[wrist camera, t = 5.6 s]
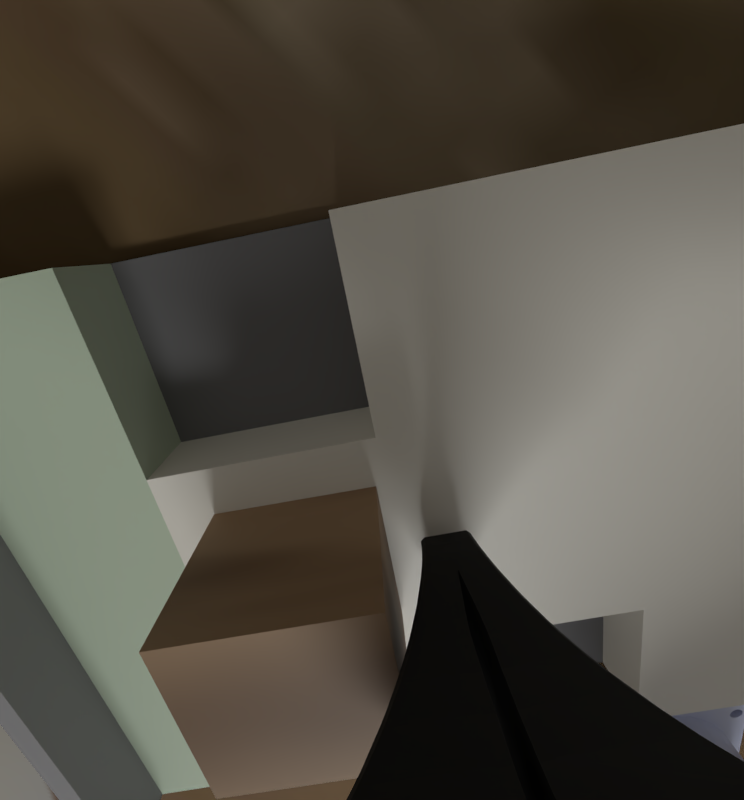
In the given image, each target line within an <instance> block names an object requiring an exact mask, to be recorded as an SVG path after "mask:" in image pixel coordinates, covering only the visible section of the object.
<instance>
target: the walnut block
mask: <svg viewBox="0 0 744 800" xmlns="http://www.w3.org/2000/svg"><path fill="white" fill-rule="evenodd" d="M405 653H406V641H405V633H404V624H403V616H402V609H401V604H400V599H399V594H398V589H397V584H396V580H395V575H394V570H393V565H392V560H391V555H390V551H389V546H388V541H387V536H386V531H385V526H384V521H383V517H382V512H381V507H380V502H379V497H378V492H377V488H376V486H375V487H369V488H363V489H357V490H352V491H346V492H340V493H334V494H329V495H323V496H317V497H311V498H305V499H300V500H294V501H288V502H282V503H277V504H271V505H265V506H259V507H253V508H248V509H242V510H236V511H230V512H224V513H219V514H214V515H213V517H212V519H211V521H210V523H209V525H208V526H207V528H206V530H205V532H204V534H203V536H202V537H201V539H200V541H199V543H198V545H197V547H196V548H195V550H194V552H193V554H192V556H191V558H190V559H189V561H188V563H187V565H186V567H185V569H184V570H183V572H182V574H181V576H180V578H179V580H178V581H177V583H176V585H175V587H174V589H173V591H172V592H171V594H170V596H169V598H168V600H167V602H166V603H165V605H164V607H163V609H162V611H161V613H160V614H159V616H158V618H157V620H156V622H155V624H154V625H153V627H152V629H151V631H150V633H149V635H148V636H147V638H146V640H145V642H144V644H143V646H142V647H141V649H140V651H139V654H140V656H141V658H142V659H143V661H144V663H145V665H146V667H147V669H148V671H149V673H150V675H151V676H152V678H153V680H154V682H155V684H156V686H157V688H158V690H159V692H160V693H161V695H162V697H163V699H164V701H165V703H166V705H167V707H168V709H169V710H170V712H171V714H172V716H173V718H174V720H175V722H176V724H177V726H178V727H179V729H180V731H181V733H182V735H183V737H184V739H185V741H186V743H187V744H188V746H189V748H190V750H191V752H192V754H193V756H194V758H195V760H196V761H197V763H198V765H199V767H200V769H201V771H202V773H203V775H204V777H205V778H206V780H207V782H208V784H209V786H210V788H211V790H212V792H213V794H214V796H215V797H216V799H219V798H226V797H233V796H239V795H246V794H253V793H260V792H267V791H273V790H280V789H287V788H294V787H300V786H307V785H314V784H321V783H328V782H334V781H341V780H348V779H355V778H358V776H359V774H360V772H361V769H362V767H363V765H364V762H365V760H366V758H367V756H368V753H369V751H370V749H371V746H372V744H373V742H374V739H375V737H376V735H377V732H378V730H379V728H380V725H381V723H382V720H383V718H384V715H385V713H386V710H387V707H388V705H389V702H390V699H391V696H392V693H393V691H394V688H395V685H396V682H397V679H398V676H399V673H400V670H401V666H402V663H403V660H404V656H405Z"/></svg>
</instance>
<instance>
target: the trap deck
mask: <svg viewBox="0 0 744 800" xmlns="http://www.w3.org/2000/svg"><path fill="white" fill-rule="evenodd" d="M328 211H329V216H330V218H328V219H323V220H319V221H314V222H309V223H304V224H299V225H295V226H290V227H285V228H280V229H275V230H270V231H266V232H261V233H256V234H251V235H246V236H242V237H237V238H232V239H227V240H222V241H218V242H213V243H208V244H203V245H198V246H193V247H189V248H184V249H179V250H174V251H169V252H165V253H160V254H155V255H150V256H145V257H141V258H136V259H131V260H126V261H121V262H116V263H112V264H99V265H85V266H71V267H57V268H49V269H44V270H39V271H34V272H30V273H25V274H20V275H15V276H10V277H6V278H1V279H0V724H1V726H2V727H3V729H4V730H5V731H6V732H7V734H8V735H9V736H10V737H11V739H12V740H13V741H14V743H15V744H16V745H17V746H18V748H19V749H20V750H21V752H22V753H23V754H24V755H25V757H26V758H27V759H28V761H29V762H30V763H31V764H32V766H33V767H34V768H35V769H36V771H37V772H38V773H39V775H40V776H41V777H42V778H43V780H44V781H45V782H46V784H47V785H48V786H49V787H50V789H51V790H52V791H53V793H54V794H55V795H56V796H57V798H58V799H59V800H160V799H161V796H162V794H166V793H172V792H179V791H185V790H192V789H198V788H205V787H210V786H209V784H208V782H207V780H206V778H205V777H204V775H203V773H202V771H201V769H200V767H199V765H198V763H197V761H196V760H195V758H194V756H193V754H192V752H191V750H190V748H189V746H188V744H187V743H186V741H185V739H184V737H183V735H182V733H181V731H180V729H179V727H178V726H177V724H176V722H175V720H174V718H173V716H172V714H171V712H170V710H169V709H168V707H167V705H166V703H165V701H164V699H163V697H162V695H161V693H160V692H159V690H158V688H157V686H156V684H155V682H154V680H153V678H152V676H151V675H150V673H149V671H148V669H147V667H146V665H145V663H144V661H143V659H142V658H141V656H140V654H139V651H140V649H141V647H142V646H143V644H144V642H145V640H146V638H147V636H148V635H149V633H150V631H151V629H152V627H153V625H154V624H155V622H156V620H157V618H158V616H159V614H160V613H161V611H162V609H163V607H164V605H165V603H166V602H167V600H168V598H169V596H170V594H171V592H172V591H173V589H174V587H175V585H176V583H177V581H178V580H179V578H180V576H181V574H182V572H183V570H184V569H185V567H186V565H187V563H188V561H189V559H190V558H191V556H192V554H193V552H194V550H195V548H196V547H197V545H198V543H199V541H200V539H201V537H202V536H203V534H204V532H205V530H206V528H207V526H208V525H209V523H210V521H211V519H212V517H213V515H214V514H219V513H224V512H230V511H236V510H242V509H248V508H253V507H259V506H265V505H271V504H277V503H282V502H288V501H294V500H300V499H305V498H311V497H317V496H323V495H329V494H334V493H340V492H346V491H352V490H357V489H363V488H369V487H375V486H376V488H377V492H378V497H379V502H380V507H381V512H382V517H383V521H384V526H385V531H386V536H387V541H388V546H389V551H390V555H391V560H392V565H393V570H394V575H395V580H396V584H397V589H398V594H399V599H400V604H401V609H402V616H403V624H404V633H405V641H406V649H407V646H408V642H409V638H410V634H411V629H412V625H413V620H414V616H415V611H416V606H417V601H418V594H419V587H420V580H421V569H422V546H421V541H422V540H423V538H424V537H429V536H435V535H441V534H447V533H453V532H458V531H464V530H467V531H468V532H470V533H471V534H472V536H473V537H474V539H475V540H476V542H477V543H478V545H479V546H480V547H481V548H482V550H483V551H484V552H485V554H486V555H487V556H488V557H489V559H490V560H491V561H492V562H493V563H494V565H495V566H496V567H497V568H498V569H499V570H500V572H501V573H502V574H503V575H504V576H505V577H506V578H507V579H508V580H509V581H510V582H511V584H512V585H513V586H514V587H515V588H516V589H517V590H518V591H519V592H520V593H521V594H522V595H523V596H524V597H525V598H526V599H527V600H528V601H529V602H530V603H531V604H532V605H533V606H534V607H535V608H536V609H537V610H538V611H539V612H540V613H541V614H542V615H543V616H544V617H545V618H546V619H547V620H548V621H549V622H550V623H552V624H553V625H554V626H555V627H556V628H557V629H558V630H559V631H560V632H561V633H563V634H564V635H565V636H566V637H567V638H568V639H570V640H571V641H572V642H573V643H574V644H575V645H577V646H578V647H579V648H580V649H581V650H583V651H584V652H585V653H586V654H588V655H589V656H590V657H591V658H593V659H594V660H595V661H596V662H598V663H600V662H603V663H604V665H605V667H606V668H607V670H608V671H609V672H610V673H612V674H613V675H614V676H616V677H617V678H619V679H620V680H621V681H623V682H624V683H626V684H627V685H628V686H630V687H631V688H632V689H634V690H635V691H637V692H638V693H639V694H641V695H642V696H643V697H645V698H646V699H648V700H649V701H650V702H652V703H653V704H655V705H656V706H657V707H659V708H660V709H662V710H663V711H665V712H666V713H668V714H669V715H671V716H674V715H681V714H687V713H694V712H701V711H707V710H714V709H720V708H727V707H733V706H740V705H744V124H739V125H734V126H729V127H725V128H720V129H715V130H710V131H705V132H701V133H696V134H691V135H686V136H682V137H677V138H672V139H667V140H662V141H658V142H653V143H648V144H643V145H638V146H634V147H629V148H624V149H619V150H614V151H610V152H605V153H600V154H595V155H590V156H586V157H581V158H576V159H571V160H566V161H562V162H557V163H552V164H547V165H542V166H538V167H533V168H528V169H523V170H519V171H514V172H509V173H504V174H499V175H495V176H490V177H485V178H480V179H475V180H471V181H466V182H461V183H456V184H451V185H447V186H442V187H437V188H432V189H427V190H423V191H418V192H413V193H408V194H403V195H399V196H394V197H389V198H384V199H379V200H375V201H370V202H365V203H360V204H356V205H351V206H346V207H341V208H336V209H332V210H328Z"/></svg>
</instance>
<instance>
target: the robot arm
mask: <svg viewBox="0 0 744 800" xmlns="http://www.w3.org/2000/svg"><path fill="white" fill-rule="evenodd" d="M421 546H422V569H421V580H420V587H419V594H418V601H417V606H416V611H415V616H414V620H413V625H412V629H411V634H410V638H409V642H408V646H407V649H406V653H405V656H404V660H403V663H402V666H401V670H400V673H399V676H398V679H397V682H396V685H395V688H394V691H393V693H392V696H391V699H390V702H389V705H388V707H387V710H386V713H385V715H384V718H383V720H382V723H381V725H380V728H379V730H378V732H377V735H376V737H375V739H374V742H373V744H372V746H371V749H370V751H369V753H368V756H367V758H366V760H365V762H364V765H363V767H362V769H361V772H360V774H359V776H358V778H357V780H356V782H355V784H354V786H353V788H352V790H351V792H350V794H349V796H348V798H347V800H744V759H743V758H742V757H741V755H740V754H739V750H740V745H741V740H742V735H743V730H744V705H740V706H733V707H727V708H720V709H714V710H707V711H701V712H694V713H687V714H681V715H674V716H671V715H669V714H668V713H666V712H665V711H663V710H662V709H660V708H659V707H657V706H656V705H655V704H653V703H652V702H650V701H649V700H648V699H646V698H645V697H643V696H642V695H641V694H639V693H638V692H637V691H635V690H634V689H632V688H631V687H630V686H628V685H627V684H626V683H624V682H623V681H621V680H620V679H619V678H617V677H616V676H614V675H613V674H612V673H610V672H609V671H608V670H606V669H605V668H604V667H603V666H601V665H600V664H599V663H598V662H596V661H595V660H594V659H593V658H591V657H590V656H589V655H588V654H586V653H585V652H584V651H583V650H581V649H580V648H579V647H578V646H577V645H575V644H574V643H573V642H572V641H571V640H570V639H568V638H567V637H566V636H565V635H564V634H563V633H561V632H560V631H559V630H558V629H557V628H556V627H555V626H554V625H553V624H552V623H550V622H549V621H548V620H547V619H546V618H545V617H544V616H543V615H542V614H541V613H540V612H539V611H538V610H537V609H536V608H535V607H534V606H533V605H532V604H531V603H530V602H529V601H528V600H527V599H526V598H525V597H524V596H523V595H522V594H521V593H520V592H519V591H518V590H517V589H516V588H515V587H514V586H513V585H512V584H511V582H510V581H509V580H508V579H507V578H506V577H505V576H504V575H503V574H502V573H501V572H500V570H499V569H498V568H497V567H496V566H495V565H494V563H493V562H492V561H491V560H490V559H489V557H488V556H487V555H486V554H485V552H484V551H483V550H482V548H481V547H480V546H479V545H478V543H477V542H476V540H475V539H474V537H473V536H472V534H471V533H470V532H468V531H467V530H464V531H458V532H453V533H447V534H441V535H435V536H429V537H424V538H423V540H422V541H421Z"/></svg>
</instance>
